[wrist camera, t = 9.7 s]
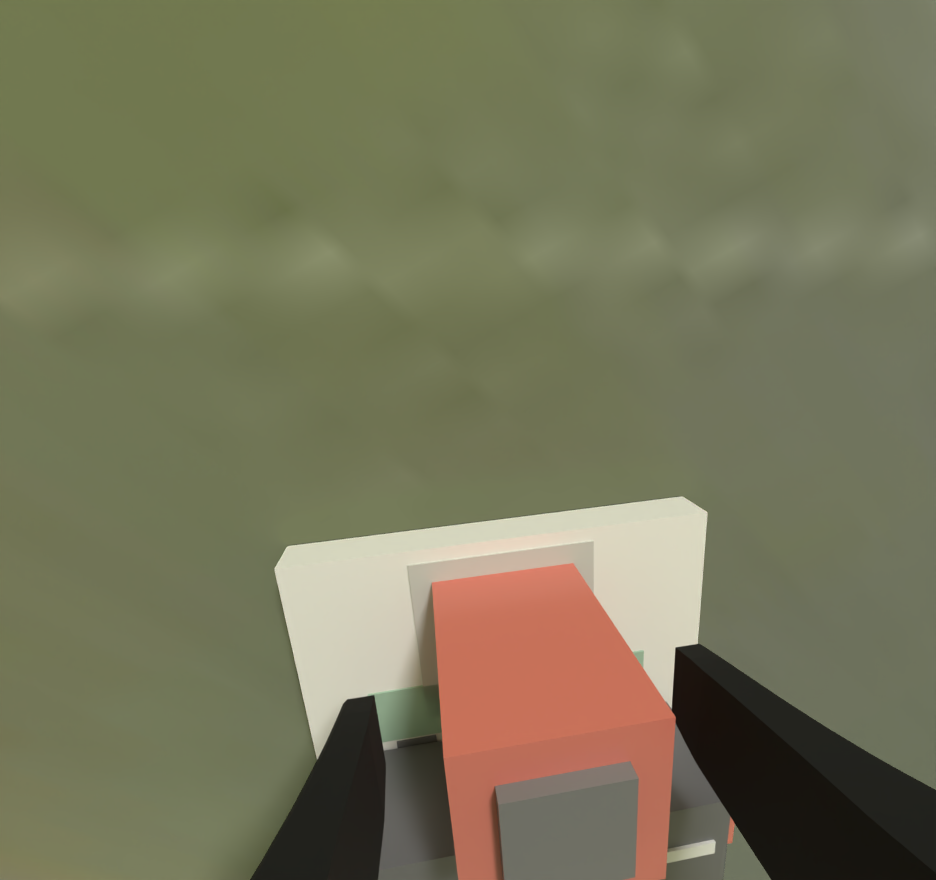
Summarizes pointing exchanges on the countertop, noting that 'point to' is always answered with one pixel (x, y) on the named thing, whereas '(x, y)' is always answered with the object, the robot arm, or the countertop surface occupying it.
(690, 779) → the breaker
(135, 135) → the countertop surface
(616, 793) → the cap
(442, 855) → the block
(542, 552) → the board
